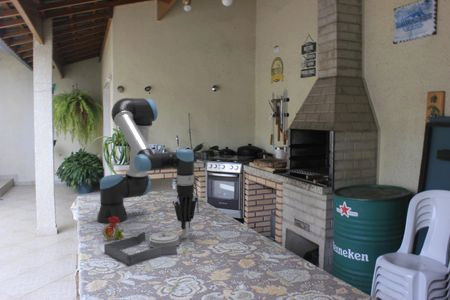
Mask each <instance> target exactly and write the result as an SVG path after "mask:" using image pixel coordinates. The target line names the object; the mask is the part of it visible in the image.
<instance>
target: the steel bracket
mask: <svg viewBox="0 0 450 300" xmlns="http://www.w3.org/2000/svg"><path fill="white" fill-rule="evenodd" d="M145 241H146V232H145V231H142V232H141V233H139V234H137V235H136V236H131V237H128V238H124V239H121V240H117V241H113V242H109V243H105V244H104V254H105V255H108V256H109V257H111V258H113V259H114V260H117V261H119V262H120V263H122V264H125V265H127V266H129V267H130V266H133V265H136V264H139V263H142V262H146V261H149V260H152V259H155V258H159V257H161V256H168V255H170V256H171V255H177V254H178V249H177V248H178V245H165V246H159V247H155V248H153V247H151V248H149V249H145V250H142V251H139V252H135V253H133V254H128V252H124V251H122V250H124V249H128V248H131V247H135V246H139V245H141V244H142V243H144V242H145Z"/></svg>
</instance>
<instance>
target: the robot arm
mask: <svg viewBox="0 0 450 300" xmlns="http://www.w3.org/2000/svg"><path fill="white" fill-rule="evenodd" d="M111 118H112V121H113V123H114V125H116V126H117V127H118V128H119V130H120V131H121V134H122V135H123V137H124V139H125V140H126V142H127V144H128V145H129V147H130V153H129V166H128V167H129V168H128V169H127V170H126V171H125V176H124V175H123V174H120V173H119V174H118V173H117V174H110V175H105V176H104V177H102V178H101V179H100V181H99V195H100V207H99V210H98V213H97V222H98V223H101V224H102V223H103V224H109V223H110V222H109V220H108V218H109V217H114V216H115V217H118V219H119V220H120V222H119V223H122V222H124V221H127V219H128V213H127V210H126V207H125V205H124V199H130V198H136V197H138V198H139V197H143V196H146V195H148V194H149V192H150V190H151V188H152V181H151V177H150V175H149V173H148V172H151V171H159V170H161V171H162V170H171V169H174V170H176V184H177V185H176V193H177V197H176V199H175V200H173V201H172V205H173V206H174V209H175V210H174V211H175V214H176V220H177V221H178V222H180V224H181V225H180V226H181V228H180V229H181V231H182V232H181V233H182V236H183V237H186V238H187V237H189V235H190V233H189V231H190V226H191V222H192V220H193V219H194V216H195V211H196V207H197V200H198V201H199V197H198V198H196V196H194V192H195V183H194V175H195V154H194V150H193V149H187V148H181V149H177V151H175V152H174V151H166V152H158V153H157V152H156V153H154V152H153V150H152V148H151V147H150V145H149V144H148V141H149V129H150V128H151V127H152V126H153V122H155V121H156V120H157V118H158V108H157V105H156V103H155V102H154V100H152V99H150V98H145V97H143V98H137V97H135V98H133V97H131V98H128V97H123V98H121V99H119V100H117V101H116V102H115V103H114V104H113V106H112V109H111ZM179 204H180V205H179ZM180 207H181V208H180Z"/></svg>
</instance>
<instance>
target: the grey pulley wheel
mask: <svg viewBox="0 0 450 300" xmlns="http://www.w3.org/2000/svg"><path fill="white" fill-rule="evenodd" d="M179 238H180V237H179V235H178V234H177V233H176V232H171V231H159V232H155V233H153V234H151V235H150V236H149V237H148V240H149V243H148V245H149V246H150V247H151V248H155V247H159V246H165V245H177V246H178V245H179V244H180V243H179V242H180V241H179Z"/></svg>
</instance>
